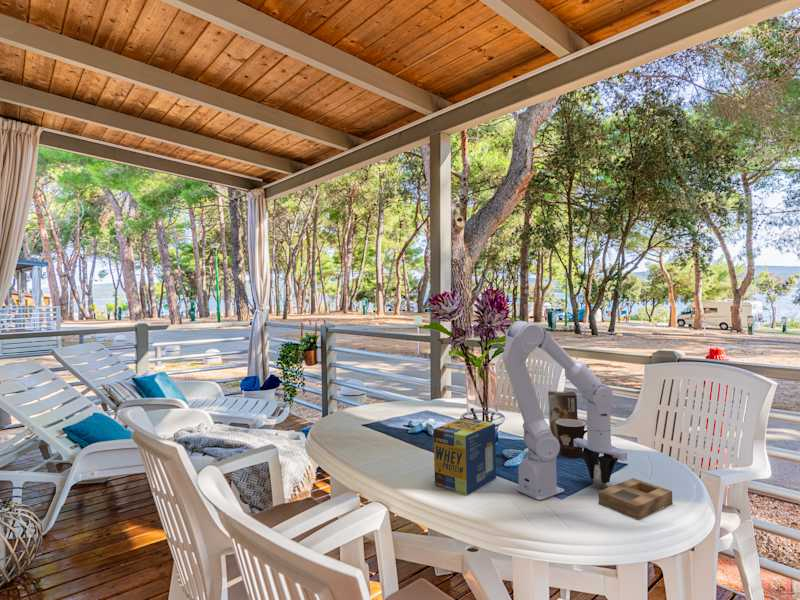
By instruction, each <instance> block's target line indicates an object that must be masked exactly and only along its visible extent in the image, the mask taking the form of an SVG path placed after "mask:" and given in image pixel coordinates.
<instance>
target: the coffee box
mask: <svg viewBox="0 0 800 600" xmlns="http://www.w3.org/2000/svg"><path fill="white" fill-rule="evenodd" d="M547 393H548V395H547V398H548V422H549V424H548V426H549V428H550V429H551V432H552V434H553V436H554V437H555V438H556V439H557V440H558V434H557V427H556V421H557V420H561V419H573V420H579V419H578V399H577V394H576V393H575V392H574V391H547Z"/></svg>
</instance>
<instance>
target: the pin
mask: <svg viewBox="0 0 800 600" xmlns="http://www.w3.org/2000/svg"><path fill="white" fill-rule="evenodd" d="M593 472H594V479H593V487H594V488H596V489H600V490H603V489H606V488H607V483H606V484H604V483H602V475H601V466H600V462H599V461H598V462H594V463H593Z"/></svg>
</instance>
